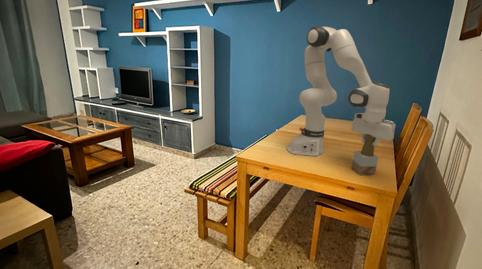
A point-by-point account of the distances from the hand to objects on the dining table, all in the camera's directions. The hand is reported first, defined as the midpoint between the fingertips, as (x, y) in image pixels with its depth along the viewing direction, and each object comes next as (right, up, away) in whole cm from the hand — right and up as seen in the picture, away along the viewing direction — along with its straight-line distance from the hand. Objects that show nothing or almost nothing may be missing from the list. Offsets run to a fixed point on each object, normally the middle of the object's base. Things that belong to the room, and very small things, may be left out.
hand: (369, 143), depth 125 cm
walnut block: (-1, -15, +5) cm, 16 cm away
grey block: (-1, -10, +3) cm, 11 cm away
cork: (0, -5, +2) cm, 6 cm away
